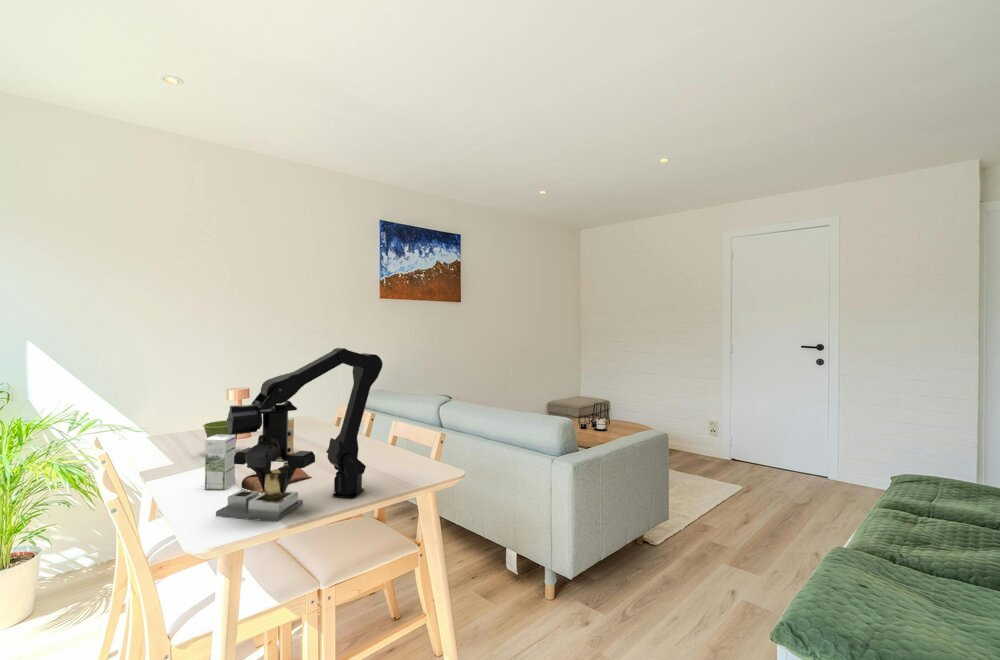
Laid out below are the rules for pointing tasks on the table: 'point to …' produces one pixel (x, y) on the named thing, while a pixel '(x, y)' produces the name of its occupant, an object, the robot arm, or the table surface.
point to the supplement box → (290, 438)
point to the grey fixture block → (259, 506)
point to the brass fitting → (273, 486)
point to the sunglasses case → (254, 485)
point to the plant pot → (216, 428)
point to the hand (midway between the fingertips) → (274, 491)
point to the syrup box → (219, 462)
